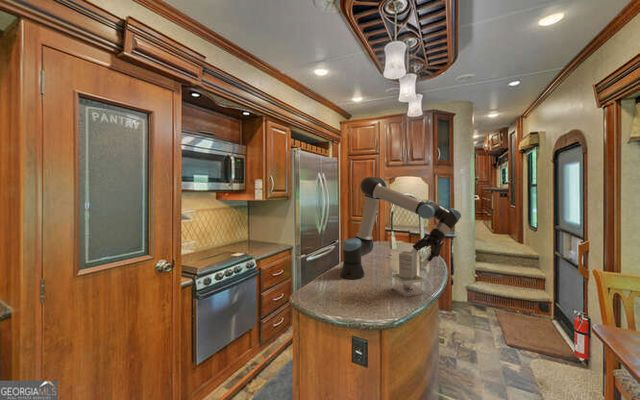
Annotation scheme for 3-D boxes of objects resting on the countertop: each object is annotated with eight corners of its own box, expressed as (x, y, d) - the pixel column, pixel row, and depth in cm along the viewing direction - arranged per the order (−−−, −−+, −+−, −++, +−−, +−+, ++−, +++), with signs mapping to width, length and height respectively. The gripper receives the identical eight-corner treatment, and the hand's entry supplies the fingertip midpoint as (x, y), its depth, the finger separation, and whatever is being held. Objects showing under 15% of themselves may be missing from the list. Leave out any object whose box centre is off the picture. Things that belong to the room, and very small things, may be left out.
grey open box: (404, 296, 139) (404, 280, 139) (392, 288, 151) (392, 273, 150) (424, 294, 142) (424, 278, 142) (411, 286, 154) (411, 271, 153)
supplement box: (404, 273, 151) (403, 250, 151) (417, 275, 147) (417, 252, 146) (398, 276, 145) (398, 253, 145) (412, 279, 141) (412, 255, 140)
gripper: (460, 240, 138) (435, 272, 135) (429, 233, 162) (407, 260, 159) (451, 231, 137) (425, 263, 134) (421, 225, 161) (399, 252, 158)
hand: (415, 261), depth 146 cm, fingers open, 13 cm apart
